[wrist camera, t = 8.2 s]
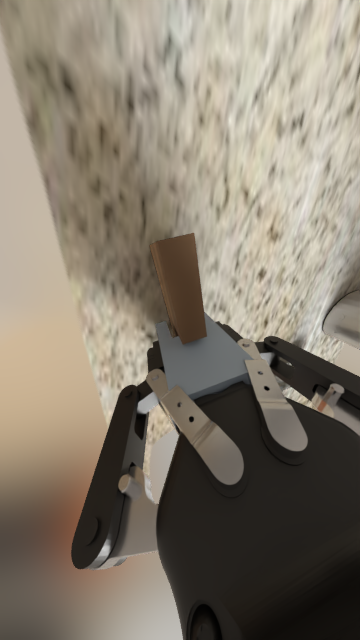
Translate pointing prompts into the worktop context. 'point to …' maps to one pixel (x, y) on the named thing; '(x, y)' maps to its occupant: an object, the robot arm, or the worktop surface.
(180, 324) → the slotted plate
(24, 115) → the worktop surface
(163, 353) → the notched block
